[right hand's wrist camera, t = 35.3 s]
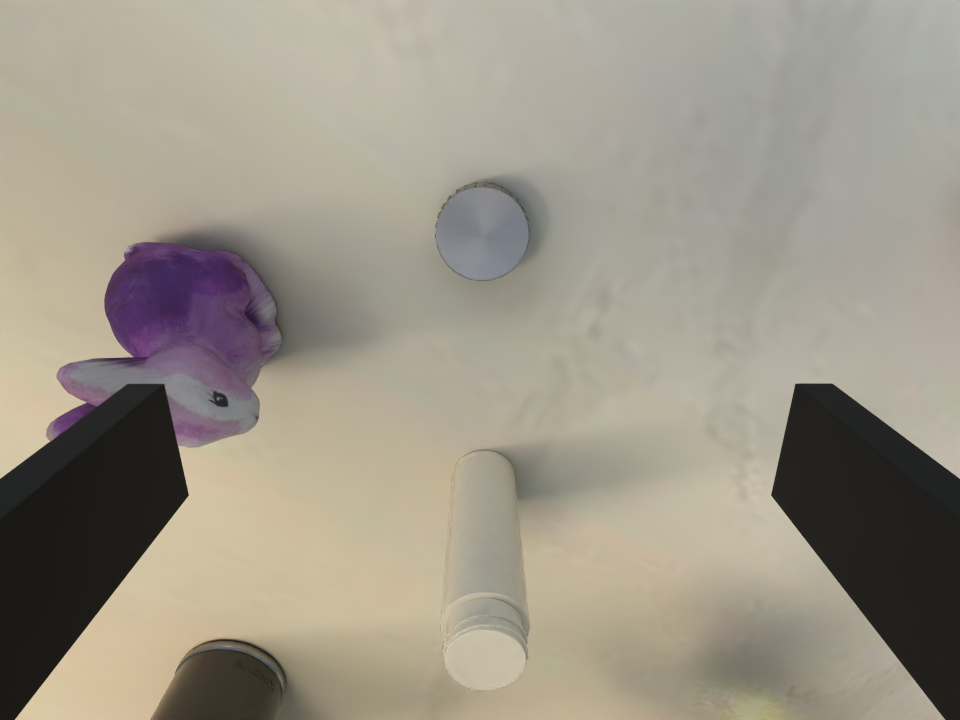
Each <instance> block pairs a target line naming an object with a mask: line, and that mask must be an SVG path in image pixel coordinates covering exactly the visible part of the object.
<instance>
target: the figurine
mask: <svg viewBox="0 0 960 720" xmlns="http://www.w3.org/2000/svg"><path fill="white" fill-rule="evenodd" d="M124 257H125V261H124V262H123V263H122V264H121V265H120V266H119V267H118V268H117V269H116V271H115V272H114V273H113V275H112V277H111V279H110V281H109V284H108V287H107V291H106V294H105V312H106V316H107V318H108V320H109V322H110V325H111V328H112V331H113V333H114V335H115V337H116V339H117V341H118V342H119V343H120V344H121V346H122V347H123V348H124V349H125V350H126V351H127V352H128V353H129V354H131V355H132V356H133V357H131V358H97V359H89V360H84V361H79V362H73V363H69V364H67V365H65V366H63V367H61V368H60V369H59V371H58V372H57V379H58V381H59V382H60V384H61V385H62V386H63V388H64V389H65V390H66V391H67V392H68V393H70V394H71V395H73V396H75V397H77V398H79V399H81V400H83V401H85V402H87V403H85V404H83V405H81V406H79V407H76V408H74V409H72V410H70V411H68V412H67V413H65V414H63V415H62V416H60V417H58V418H57V419H55V420H54V421H53V422H51V423H50V425H49V426H48V428H47V432H46V437H47V438H48V440H50V441H52V440H53V439H54V438H56V437H57V436H58V435H60V434H61V433H62V432H64V431H65V430H66V429H68V428H69V427H70V426H72V425H73V424H74V423H76V422H77V421H78V420H80V419H81V418H82V417H84V416H85V415H86V414H88V413H89V412H90V411H92V410H93V409H94V408H96V407H97V406H98V405H100V404H101V403H102V402H104V401H105V400H106V399H108V398H109V397H110V396H112V395H113V394H114V393H116V392H117V391H118V390H120V389H121V388H123V387H124V386H125V385H127V384H165V389H166V393H167V398H168V403H169V407H170V412H171V416H172V421H173V425H174V430H175V435H176V439H177V444H178V445H179V446H183V447H189V448H190V447H200V446H203V445H207V444H209V443H212V442H215V441H217V440H220V439H223V438H227V437H230V436H234V435H239V434H243V433H246V432H248V431H249V430H250V429H252V428H253V427H254V426H255V425H256V424H257V421H258V419H259V408H260V403H259V399H258V397H257V396H256V394H255V393H254V391H253V390H252V389H251V387H252V386H253V385H254V383H255V382H256V380H257V378H258V375H259V372H260V368H261V367H262V366H263V365H264V364H265V362H266V361H268V359H269V358H270V357H271V356H273V354H275V352H276V351H278V349H279V348H280V345H281V343H282V335H281V333H280V331H279V329H278V327H277V325H276V323H275V317H276V314H277V309H276V304H275V301H274V300H273V297H272V295H271V294H270V292H269V291H268V290H267V289H266V286H265V285H264V284H263V282H262V281H261V279H260V278H259V276H258V275H257V274H256V273H255V272H254V271H253V269H252V268H251V267H250V266H249V265H248V263H247V262H246V261H245V260H244V259H243V258H242V257H240V256H238V255H236V254H234V253H232V252H229V251H224V250H219V251H208V252H206V251H200V250H196V249H193V248H190V247H187V246H183V245H179V244H170V243H154V242H142V243H136V244H133V245H130V246H128V247H127V248H126V250H125V252H124Z"/></svg>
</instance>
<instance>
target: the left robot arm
mask: <svg viewBox="0 0 960 720" xmlns="http://www.w3.org/2000/svg"><path fill="white" fill-rule="evenodd" d="M285 690H286V681H285V677H284V674H283V672H282V670H281V669H280V667H279V666H278V664H277V663H276V662H275V661H274V660H273V659H272V658H271V657H269V656H268V655H267V654H265V653H264V652H262V651H260V650H259V649H257V648H254V647H252V646H249V645H246V644H243V643H238V642H231V641H216V642H210V643H206V644H203V645H200V646H198V647H196V648H194V649H192V650H191V651H190V652H188V653H187V654H186V655H185V656H184V658H183V659H182V661H181V662H180V664H179V666H178V668H177V670H176V673H175V676H174V678H173V680H172V681H171V683H170V685H169V687H168V689H167V690H166V692H165V694H164V696H163V698H162V699H161V701H160V703H159V705H158V706H157V708H156V710H155V712H154V714H153V716H152V717H151V719H150V720H275V717H276V714H277V711H278V708H279V707H280V705H281V703H282V700H283V697H284V694H285Z"/></svg>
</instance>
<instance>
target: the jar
mask: <svg viewBox="0 0 960 720" xmlns="http://www.w3.org/2000/svg"><path fill="white" fill-rule="evenodd" d="M440 628H441V633H442V636H443V638H444V642H443V653H442V656H443V657H444V664H445V667H446V670H447V672H448V674H449V675H450V676H451V677H452V678H453V679H454V680H455V681H456V682H457V683H459V684H461V685H462V686H465V687H467V688H470V689H474V690H481V691H489V690H496V689H500V688H503V687H506V686H508V685H510V684H512V683H513V682H515V681H516V680H517V679H518V678H519V677H520V676H521V674H522V673H523V671H524V669H525V666H526V662H527V659H528V647H527V636H528V633H529V628H530V623H529V613H528V603H527V593H526V583H525V572H524V562H523V552H522V542H521V532H520V522H519V511H518V501H517V491H516V481H515V472H514V469H513V467H512V465H511V463H510V462H509V461H508V460H507V459H506V458H505V457H503V456H502V455H500V454H498V453H496V452H492V451H485V450H482V451H475V452H472V453H469V454H467V455H465V456H464V457H462V458H461V459H460V460H459V461H458V462H457V464H456V465H455V467H454V469H453V473H452V482H451V495H450V508H449V521H448V533H447V546H446V559H445V572H444V584H443V597H442V610H441V622H440Z"/></svg>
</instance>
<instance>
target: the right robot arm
mask: <svg viewBox="0 0 960 720" xmlns="http://www.w3.org/2000/svg"><path fill="white" fill-rule="evenodd" d="M188 496H189V494H188V490H187V485H186V481H185V476H184V471H183V467H182V462H181V458H180V453H179V448H178V444H177V439H176V435H175V430H174V425H173V421H172V416H171V412H170V407H169V403H168V398H167V393H166V389H165V384H127V385H125V386H124V387H123V388H121V389H120V390H118V391H117V392H116V393H114V394H113V395H112V396H110V397H109V398H108V399H106V400H105V401H104V402H102V403H101V404H100V405H98V406H97V407H96V408H94V409H93V410H92V411H90V412H89V413H88V414H86V415H85V416H84V417H82V418H81V419H80V420H78V421H77V422H76V423H74V424H73V425H72V426H70V427H69V428H68V429H66V430H65V431H64V432H62V433H61V434H60V435H58V436H57V437H56V438H54V439H53V440H52V441H50V442H49V443H48V444H46V445H45V446H44V447H42V448H41V449H40V450H38V451H37V452H36V453H34V454H33V455H32V456H30V457H29V458H28V459H26V460H25V461H24V462H22V463H21V464H20V465H18V466H17V467H16V468H14V469H13V470H12V471H10V472H9V473H8V474H6V475H5V476H4V477H2V478H1V479H0V720H15V719H16V717H17V716H18V715H19V713H20V712H21V711H22V710H23V708H24V707H25V706H26V704H27V703H28V702H29V701H30V699H31V698H32V697H33V695H34V694H35V693H36V692H37V690H38V689H39V688H40V686H41V685H42V684H43V683H44V681H45V680H46V679H47V677H48V676H49V675H50V673H51V672H52V671H53V670H54V668H55V667H56V666H57V664H58V663H59V662H60V661H61V659H62V658H63V657H64V655H65V654H66V653H67V652H68V650H69V649H70V648H71V646H72V645H73V644H74V643H75V641H76V640H77V639H78V637H79V636H80V635H81V634H82V632H83V631H84V630H85V628H86V627H87V626H88V625H89V623H90V622H91V621H92V619H93V618H94V617H95V615H96V614H97V613H98V612H99V610H100V609H101V608H102V606H103V605H104V604H105V603H106V601H107V600H108V599H109V597H110V596H111V595H112V594H113V592H114V591H115V590H116V588H117V587H118V586H119V585H120V583H121V582H122V581H123V579H124V578H125V577H126V576H127V574H128V573H129V572H130V570H131V569H132V568H133V567H134V565H135V564H136V563H137V561H138V560H139V559H140V557H141V556H142V555H143V554H144V552H145V551H146V550H147V548H148V547H149V546H150V545H151V543H152V542H153V541H154V539H155V538H156V537H157V536H158V534H159V533H160V532H161V530H162V529H163V528H164V527H165V525H166V524H167V523H168V521H169V520H170V519H171V518H172V516H173V515H174V514H175V512H176V511H177V510H178V509H179V507H180V506H181V505H182V503H183V502H184V501H185V500H186V498H187V497H188ZM771 496H772V497H773V498H774V500H775V501H776V502H777V503H778V505H779V506H780V507H781V509H782V510H783V511H784V512H785V514H786V515H787V516H788V518H789V519H790V520H791V521H792V523H793V524H794V525H795V527H796V528H797V529H798V530H799V532H800V533H801V534H802V536H803V537H804V538H805V539H806V541H807V542H808V543H809V545H810V546H811V547H812V548H813V550H814V551H815V552H816V554H817V555H818V556H819V557H820V559H821V560H822V561H823V563H824V564H825V565H826V567H827V568H828V569H829V570H830V572H831V573H832V574H833V576H834V577H835V578H836V579H837V581H838V582H839V583H840V585H841V586H842V587H843V588H844V590H845V591H846V592H847V594H848V595H849V596H850V597H851V599H852V600H853V601H854V603H855V604H856V605H857V606H858V608H859V609H860V610H861V612H862V613H863V614H864V615H865V617H866V618H867V619H868V621H869V622H870V623H871V625H872V626H873V627H874V628H875V630H876V631H877V632H878V634H879V635H880V636H881V637H882V639H883V640H884V641H885V643H886V644H887V645H888V646H889V648H890V649H891V650H892V652H893V653H894V654H895V655H896V657H897V658H898V659H899V661H900V662H901V663H902V664H903V666H904V667H905V668H906V670H907V671H908V672H909V673H910V675H911V676H912V677H913V679H914V680H915V681H916V683H917V684H918V685H919V686H920V688H921V689H922V690H923V692H924V693H925V694H926V695H927V697H928V698H929V699H930V701H931V702H932V703H933V704H934V706H935V707H936V708H937V710H938V711H939V712H940V713H941V715H942V716H943V717H944V719H945V720H960V479H959V478H958V477H956V476H955V475H954V474H952V473H951V472H950V471H948V470H947V469H946V468H944V467H943V466H942V465H940V464H939V463H938V462H936V461H935V460H934V459H932V458H931V457H930V456H928V455H927V454H926V453H924V452H923V451H922V450H920V449H919V448H918V447H916V446H915V445H914V444H912V443H911V442H910V441H908V440H907V439H906V438H904V437H903V436H902V435H900V434H899V433H898V432H896V431H895V430H894V429H892V428H891V427H890V426H888V425H887V424H886V423H884V422H883V421H882V420H880V419H879V418H878V417H876V416H875V415H874V414H872V413H871V412H870V411H868V410H867V409H866V408H864V407H863V406H862V405H860V404H859V403H858V402H856V401H855V400H854V399H852V398H851V397H850V396H848V395H847V394H846V393H844V392H843V391H842V390H840V389H839V388H837V387H836V386H835V385H833V384H795V389H794V393H793V398H792V403H791V407H790V412H789V416H788V421H787V425H786V430H785V435H784V439H783V444H782V448H781V453H780V458H779V462H778V467H777V471H776V476H775V481H774V485H773V490H772V494H771Z"/></svg>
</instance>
